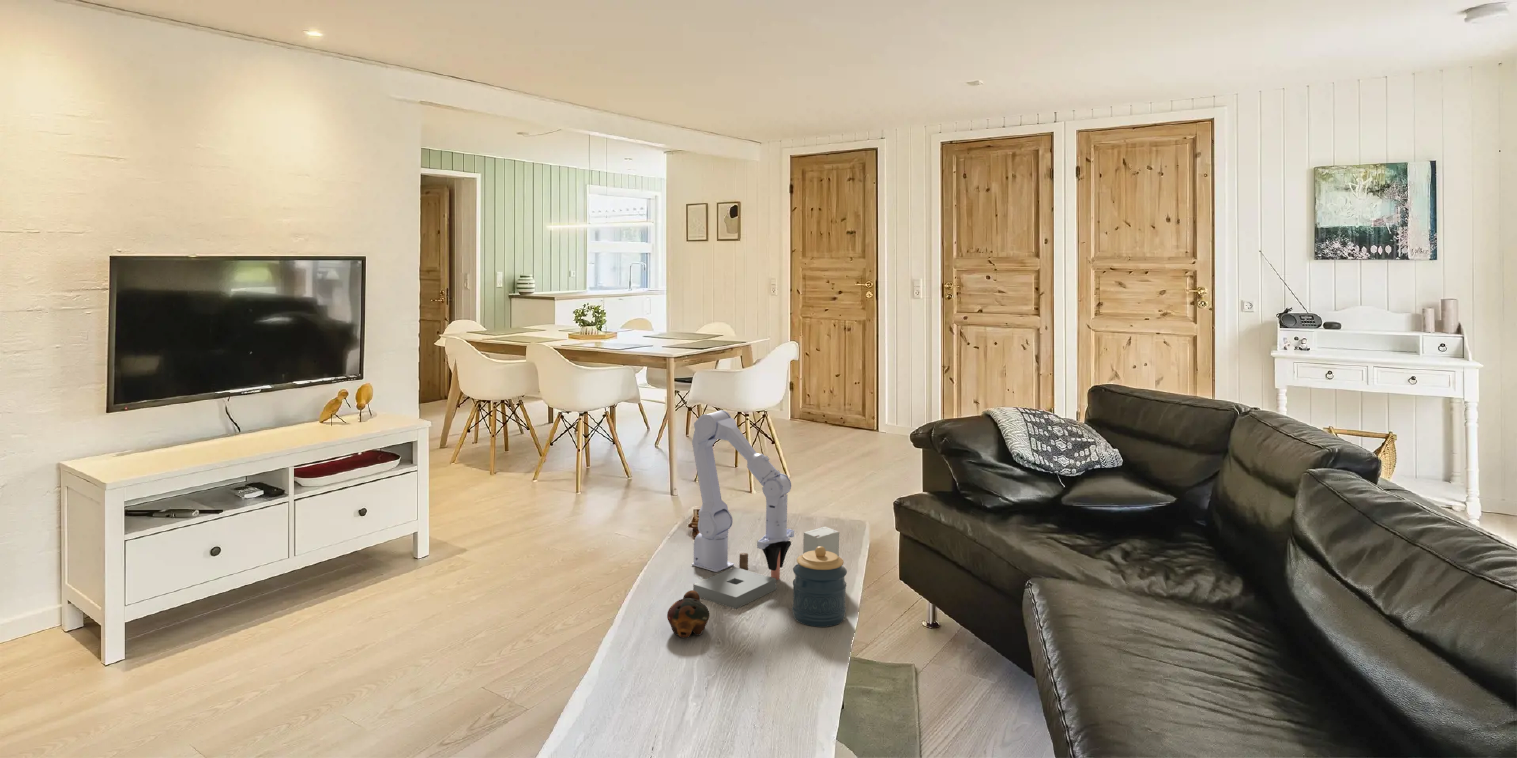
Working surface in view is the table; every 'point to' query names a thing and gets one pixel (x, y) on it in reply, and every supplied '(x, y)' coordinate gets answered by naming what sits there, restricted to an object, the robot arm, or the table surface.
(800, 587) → the canister
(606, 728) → the table surface
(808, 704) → the table surface
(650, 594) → the table surface
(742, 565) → the short pin
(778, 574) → the long pin
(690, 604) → the decorative turtle
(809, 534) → the skincare box
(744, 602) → the hole plate
